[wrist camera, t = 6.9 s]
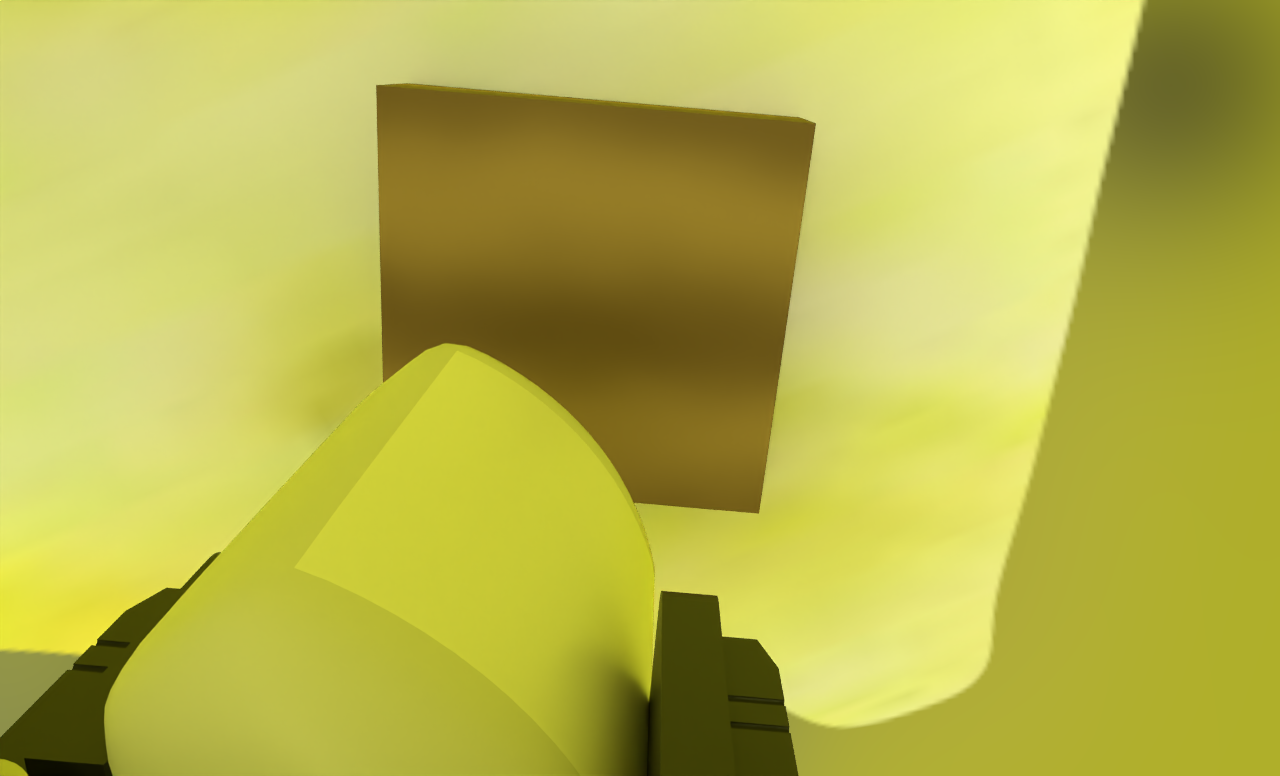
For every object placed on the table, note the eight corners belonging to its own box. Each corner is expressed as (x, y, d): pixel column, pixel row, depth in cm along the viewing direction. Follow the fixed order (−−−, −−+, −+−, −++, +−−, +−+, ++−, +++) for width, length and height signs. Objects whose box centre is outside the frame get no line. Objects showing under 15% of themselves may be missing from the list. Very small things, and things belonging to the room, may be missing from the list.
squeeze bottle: (614, 311, 14) (371, 1373, 3) (664, 609, 16) (655, 1991, 4) (349, 348, 14) (-897, 1427, 3) (430, 636, 16) (-135, 1975, 5)
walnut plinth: (407, 83, 26) (376, 85, 24) (800, 117, 26) (815, 123, 24) (411, 443, 31) (385, 481, 28) (750, 472, 31) (758, 513, 28)
